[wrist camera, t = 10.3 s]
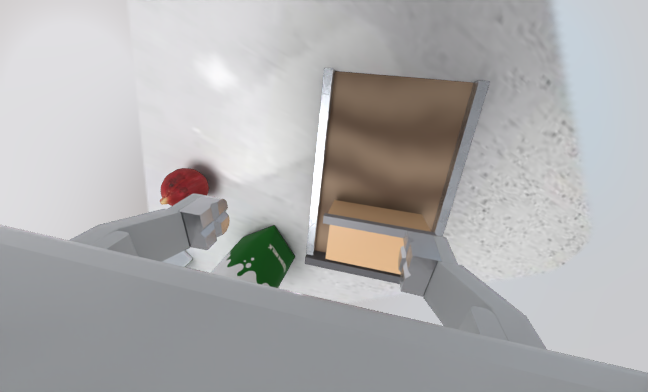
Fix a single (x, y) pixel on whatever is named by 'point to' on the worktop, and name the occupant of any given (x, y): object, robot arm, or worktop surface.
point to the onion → (182, 185)
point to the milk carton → (258, 259)
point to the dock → (390, 151)
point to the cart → (369, 234)
